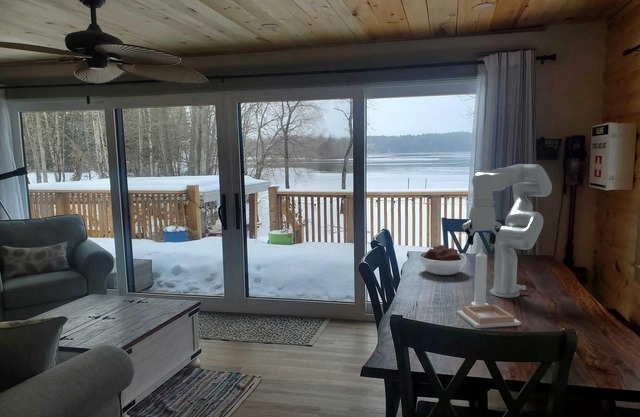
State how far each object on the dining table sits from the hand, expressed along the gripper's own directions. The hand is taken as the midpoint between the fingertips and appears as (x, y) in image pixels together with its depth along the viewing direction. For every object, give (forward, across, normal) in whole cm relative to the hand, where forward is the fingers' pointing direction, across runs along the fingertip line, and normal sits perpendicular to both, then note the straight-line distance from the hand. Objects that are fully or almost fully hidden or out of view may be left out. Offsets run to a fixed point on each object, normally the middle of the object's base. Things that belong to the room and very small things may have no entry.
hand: (481, 244), depth 189 cm
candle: (+27, -1, 0) cm, 27 cm away
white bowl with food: (+26, -7, -53) cm, 60 cm away
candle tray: (+27, +4, +15) cm, 31 cm away
